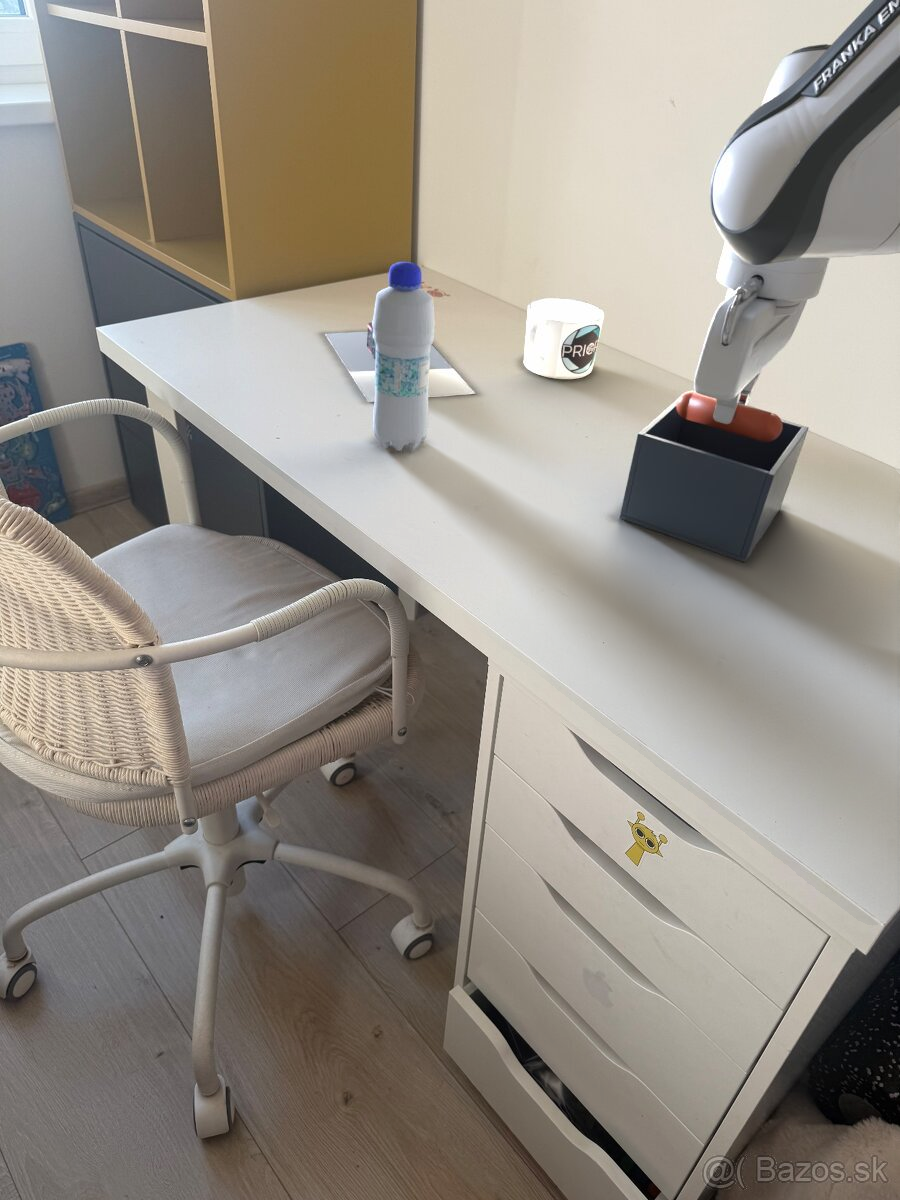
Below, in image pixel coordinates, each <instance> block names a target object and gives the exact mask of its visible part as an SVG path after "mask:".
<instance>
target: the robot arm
mask: <svg viewBox="0 0 900 1200" xmlns="http://www.w3.org/2000/svg"><path fill="white" fill-rule="evenodd" d="M713 169H714V170H713V173H712V177H711V181H710V186H709V206H710V210H711V215H712V218H713V221H714V224H715V227H716V229H717V230H718V232H719V235H720V236H721V237H722V239H723V241H724V245H723V249H722V252H721V253H722V254H721V256H720V260H719V264H718V269H717V273H716V280H717V282H719V284H720V285H722V286H724V287H725V288H727V291H726V295H725V300H724V301H722V302H721V303H720V304H719V305H718V307H717V309H716V310H715V312H714V315H713V317H712V319H711V321H710V325H709V327H708V330H707V334H706V337H705V340H704V343H703V346H702V351H701V354H700V356H699V360H698V363H697V367H696V370H695V374H694V380H693V389H694V390H693V391H695V392H697V393H699V394H701V395H705V396H708V397H711V398H715V399H716V407H715V411H714V415H713V418H714V420H715V421H717V422H720V423H724V424H729V423H731V422H732V421H733V419H734V418H735V417H736V414H737V410H738V407H739V404H742V405H746V406H748V405H749V401H750V399H751V395H752V392H753V390H754V388H755V385H756V384H757V381H758V380H759V377H760V375H761V373H762V371H763V369H764V368H765V367H766V366H767V365H768V364H769V363H770V362H771V361H772V360H773V359H774V358H775V357H776V356H777V355H778V354H779V353H780V352H781V351H782V350H783V349H784V348H785V347H786V346H787V345H788V343H789V342H790V341H791V339H792V336H793V334H794V333H795V330H796V328H797V326H798V324H799V321H800V319H801V317H802V314H803V311H804V310H805V307H806V305H807V302H808V300H811V299H813V298H816V297H818V295H819V294H820V291H821V287H822V286H823V281H824V279H825V275H826V272H827V269H828V266H829V263H830V261H831V259H832V258H854V257H862V256H885V255H886V256H887V255H896V254H900V0H871V2H870V3H869V4H868V5H867V6H866V7H865V8H864V9H863V10H862V12H861V13H859V15H857V17H856V18H855V19H854V20H853V21H852V22H851V23H850V24H849V26H847V28H845V30H844V31H843V32H842V33H841V34H840V35H839V36H838V37H837V38H836V39H835V40H834V41H833V42H832V43H831V44H828V43H825V44H817V45H810V46H809V45H808V46H805V47H802V48H797V49H796V50H794V51H792V52H791V53H789V54H788V55H786V56H784V57H783V58H782V60H781V61H780V62H779V65H778V66H777V67H776V69H775V72H774V74H773V76H772V77H771V80H770V82H769V84H768V87H767V90H766V92H765V95H764V98H763V100H762V103H761V105H760V106H759V107H757V108H756V109H755V110H754V111H753V112H752V113H750V115H748V117H747V118H746V119H745V120H744V121H743V122H742V123H741V124H740V125H739V127H738V128H737V129H736V130H735V131H734V133H733V134H732V135H731V137H730V138H729V140H728V141H727V143H726V144H725V146H724V148H723V149H722V151H721V153H720V155H719V157H718V159H717V162H716V163H715V166H714V168H713Z"/></svg>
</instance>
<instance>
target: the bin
mask: <svg viewBox="0 0 900 1200" xmlns="http://www.w3.org/2000/svg"><path fill="white" fill-rule="evenodd" d="M678 399H679V397H677V398H676V400H674V401H673V402H672V403H671V404H669V406H667V408H665V409H664V410H663V411H662V412H661V413H659V414H658V415H657V416H656V417H655V418H654V419H653V420H652V421H651V422H649V423H648V424H647V425H646V426H644V427H643V429H642V430H640V431H639V432H638V433H637V436H636V441H635V444H634V449H633V454H632V459H631V463H630V467H629V473H628V477H627V482H626V486H625V490H624V495H623V500H622V503H621V504H622V505H621V510H620V513H619V519H621V520H624V521H626V522H629V523H632V524H634V525H638V526H641V527H643V528H646V529H649V530H652V531H654V532H658V533H660V534H663V535H666V536H669V537H671V538H674V539H677V540H679V541H683V542H686V543H688V544H691V545H694V546H697V547H699V548H703V549H705V550H708V551H711V552H714V553H717V554H720V555H722V556H725V557H728V558H730V559H734V560H736V561H739V562H742V563H746V562H747V561H748V559H749V557H750V556H751V554H752V553H753V551H755V548H756V546H757V545H758V543H759V542H760V541H761V539H762V538H763V536H764V534H765V533H766V531H767V530H768V529H769V527H770V525H771V524H772V522H773V521H774V519H775V517H776V516H777V514H778V513H779V512H780V510H781V508H782V505H783V502H784V500H785V497H786V494H787V492H788V491H787V490H788V488H789V486H790V482H791V480H792V476H793V474H794V471H795V469H796V465H797V462H798V460H799V457H800V454H801V451H802V448H803V446H804V443H805V439H806V437H807V434H808V431H809V428H810V427H808V426H805V425H802V424H799V423H795V422H792V421H787V420H784V419H781V421H782V425H783V427H782V432H781V434H780V435H779V436H778V437H777V438H776V439H775V440H773V441H770V442H761V441H758V440H754V439H751V438H748V437H744V436H741V435H737V434H734V433H731V432H727V431H724V430H721V429H717V428H714V427H710V426H707V425H704V424H700V423H697V422H693V421H690V420H687V419H684V418H682V417H681V416H680V415H679V414H678V412H677V408H676V405H677V401H678Z"/></svg>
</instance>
